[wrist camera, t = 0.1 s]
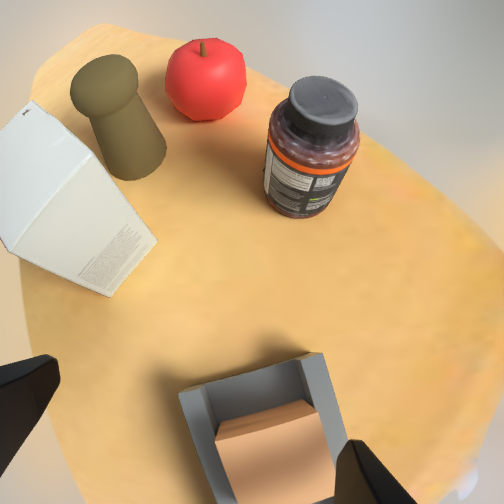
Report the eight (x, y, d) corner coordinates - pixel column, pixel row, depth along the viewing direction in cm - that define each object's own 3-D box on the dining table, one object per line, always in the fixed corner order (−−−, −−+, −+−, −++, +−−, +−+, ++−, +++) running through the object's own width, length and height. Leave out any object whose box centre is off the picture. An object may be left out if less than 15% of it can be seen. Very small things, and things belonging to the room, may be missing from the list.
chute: (355, 507, 18) (369, 525, 15) (244, 540, 17) (245, 562, 14) (311, 352, 23) (322, 352, 19) (187, 387, 22) (177, 393, 18)
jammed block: (322, 466, 19) (341, 492, 14) (245, 489, 18) (245, 520, 13) (302, 398, 21) (318, 411, 16) (220, 421, 20) (214, 441, 15)
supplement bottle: (295, 149, 28) (318, 53, 17) (344, 192, 27) (394, 107, 16) (247, 186, 26) (250, 90, 16) (298, 235, 25) (334, 156, 14)
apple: (191, 73, 31) (182, 17, 23) (259, 87, 30) (262, 27, 23) (156, 123, 28) (137, 64, 21) (231, 141, 28) (228, 78, 20)
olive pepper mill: (120, 127, 28) (83, 47, 18) (174, 130, 28) (150, 41, 18) (98, 177, 27) (44, 102, 16) (155, 184, 26) (115, 98, 16)
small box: (57, 241, 25) (-36, 172, 12) (102, 189, 26) (32, 95, 14) (110, 301, 23) (6, 254, 11) (161, 242, 25) (96, 149, 12)
